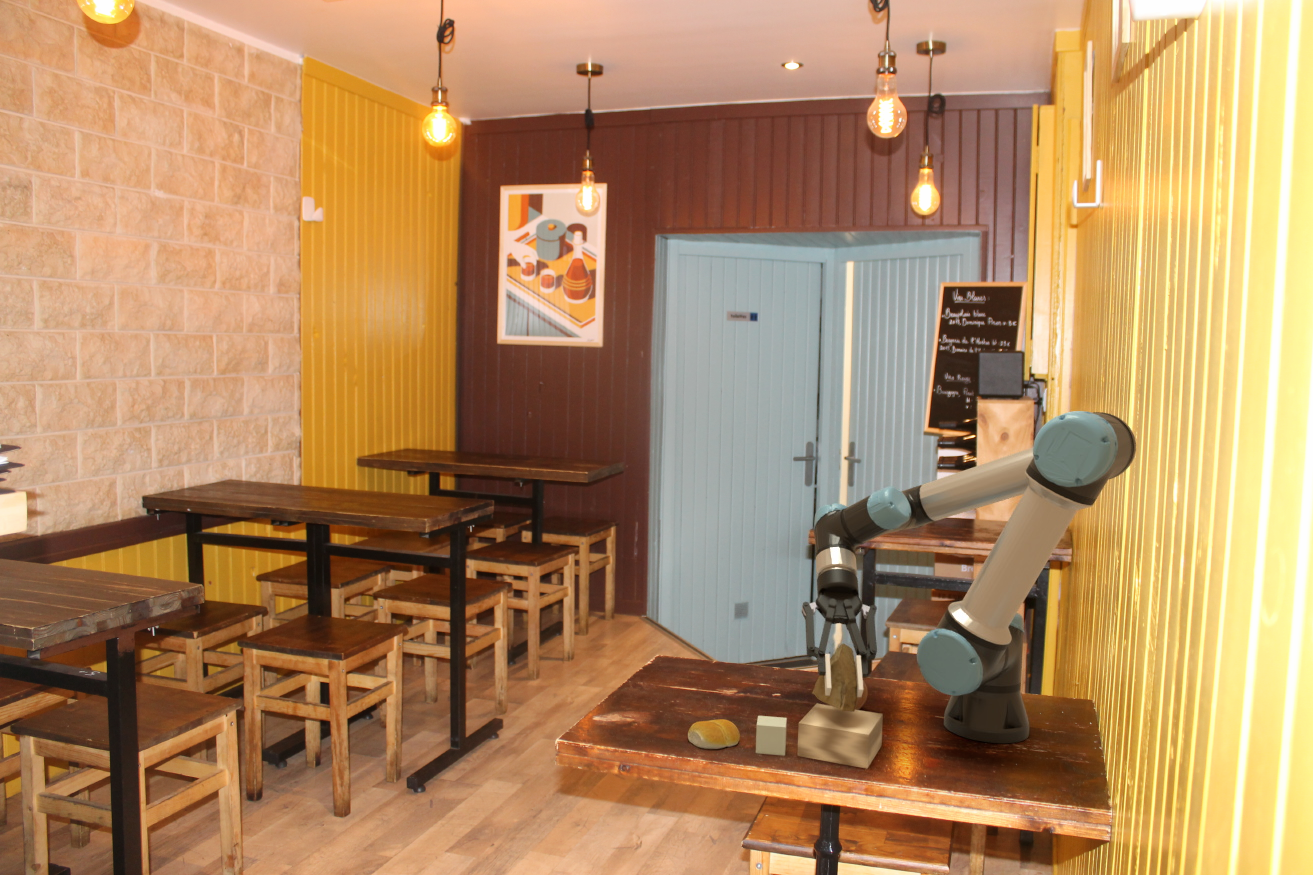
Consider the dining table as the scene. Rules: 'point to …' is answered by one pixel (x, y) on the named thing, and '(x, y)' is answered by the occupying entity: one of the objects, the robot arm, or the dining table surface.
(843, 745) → the beech block
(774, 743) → the pale cream cube
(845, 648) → the rock
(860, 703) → the fruit
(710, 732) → the bread roll
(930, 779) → the dining table surface
